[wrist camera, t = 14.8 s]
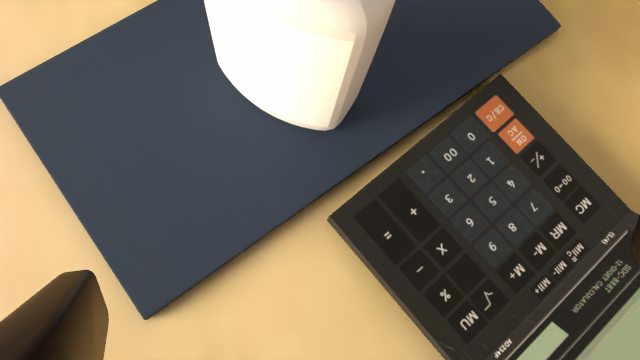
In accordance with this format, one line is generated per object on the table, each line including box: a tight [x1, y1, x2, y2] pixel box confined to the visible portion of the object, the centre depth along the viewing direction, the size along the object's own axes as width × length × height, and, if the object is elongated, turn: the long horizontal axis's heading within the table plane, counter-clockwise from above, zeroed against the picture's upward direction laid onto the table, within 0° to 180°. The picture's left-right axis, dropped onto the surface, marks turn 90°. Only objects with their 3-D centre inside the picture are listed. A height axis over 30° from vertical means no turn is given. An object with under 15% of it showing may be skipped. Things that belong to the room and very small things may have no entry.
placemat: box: [0, 0, 561, 320], centre depth 20 cm, size 21×10×1 cm, turn 126°
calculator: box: [327, 74, 640, 360], centre depth 18 cm, size 9×12×3 cm
